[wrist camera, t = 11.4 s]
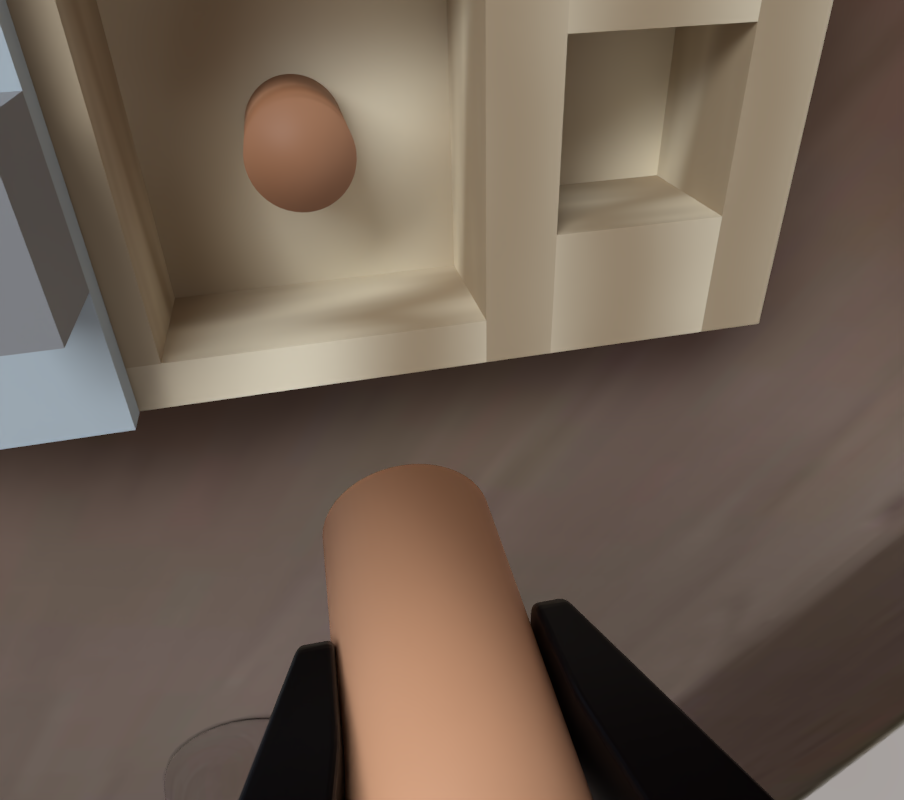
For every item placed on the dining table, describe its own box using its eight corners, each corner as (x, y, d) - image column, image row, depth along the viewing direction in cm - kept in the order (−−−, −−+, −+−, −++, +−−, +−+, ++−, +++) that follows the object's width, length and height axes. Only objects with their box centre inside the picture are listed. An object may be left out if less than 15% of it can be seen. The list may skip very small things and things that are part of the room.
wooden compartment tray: (738, -151, 15) (872, -170, 12) (677, 258, 20) (758, 323, 17) (-542, -125, 11) (-861, -143, 8) (-227, 368, 16) (-346, 480, 13)
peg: (490, 452, 10) (778, 1187, 4) (488, 573, 11) (706, 1248, 6) (311, 478, 10) (369, 1319, 4) (333, 600, 11) (399, 1353, 5)
